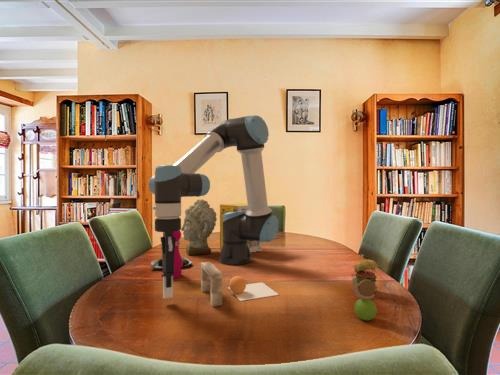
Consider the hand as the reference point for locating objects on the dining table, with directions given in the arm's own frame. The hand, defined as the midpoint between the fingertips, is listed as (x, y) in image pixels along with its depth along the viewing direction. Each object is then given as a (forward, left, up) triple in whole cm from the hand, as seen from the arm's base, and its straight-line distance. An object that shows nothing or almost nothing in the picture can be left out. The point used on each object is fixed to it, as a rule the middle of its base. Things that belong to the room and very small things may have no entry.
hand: (168, 296), depth 87 cm
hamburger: (-62, +14, -2) cm, 64 cm away
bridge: (-13, 0, -2) cm, 13 cm away
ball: (-22, 0, +1) cm, 22 cm away
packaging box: (-45, -60, -2) cm, 75 cm away
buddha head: (-23, -64, -2) cm, 68 cm away
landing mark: (-27, 0, -2) cm, 27 cm away
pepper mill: (-5, -27, -2) cm, 28 cm away
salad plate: (-6, -43, -3) cm, 43 cm away
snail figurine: (-46, +30, -2) cm, 55 cm away
